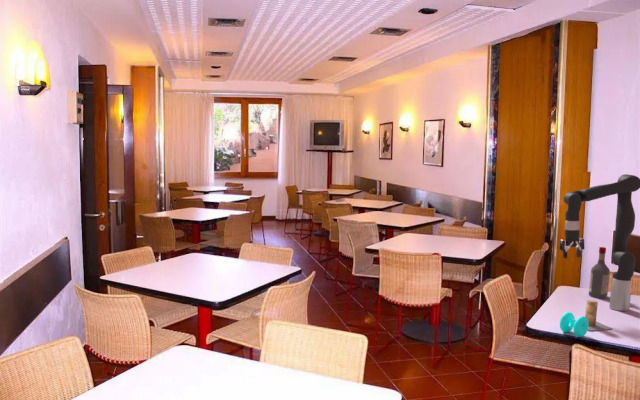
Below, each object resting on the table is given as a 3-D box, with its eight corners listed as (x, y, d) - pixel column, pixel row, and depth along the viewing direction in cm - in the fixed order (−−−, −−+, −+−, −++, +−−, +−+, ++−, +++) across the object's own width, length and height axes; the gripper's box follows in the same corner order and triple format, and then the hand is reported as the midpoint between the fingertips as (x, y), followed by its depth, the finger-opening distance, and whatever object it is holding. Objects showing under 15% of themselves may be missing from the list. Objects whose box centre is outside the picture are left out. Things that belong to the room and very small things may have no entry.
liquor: (608, 296, 331) (613, 247, 328) (603, 299, 325) (609, 249, 321) (591, 293, 337) (596, 245, 334) (587, 296, 330) (592, 247, 327)
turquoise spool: (577, 339, 256) (579, 319, 255) (557, 332, 264) (559, 313, 263) (588, 335, 262) (590, 315, 261) (568, 329, 270) (570, 309, 269)
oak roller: (590, 322, 280) (592, 299, 278) (597, 325, 275) (600, 302, 274) (582, 323, 278) (584, 300, 277) (589, 326, 274) (592, 303, 272)
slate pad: (591, 320, 285) (591, 319, 285) (612, 329, 272) (612, 328, 272) (568, 321, 281) (568, 320, 281) (589, 331, 268) (589, 330, 268)
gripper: (565, 230, 296) (565, 259, 297) (587, 228, 300) (587, 258, 301) (556, 228, 303) (556, 257, 305) (578, 227, 307) (577, 255, 308)
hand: (571, 257), depth 303 cm, fingers open, 8 cm apart
